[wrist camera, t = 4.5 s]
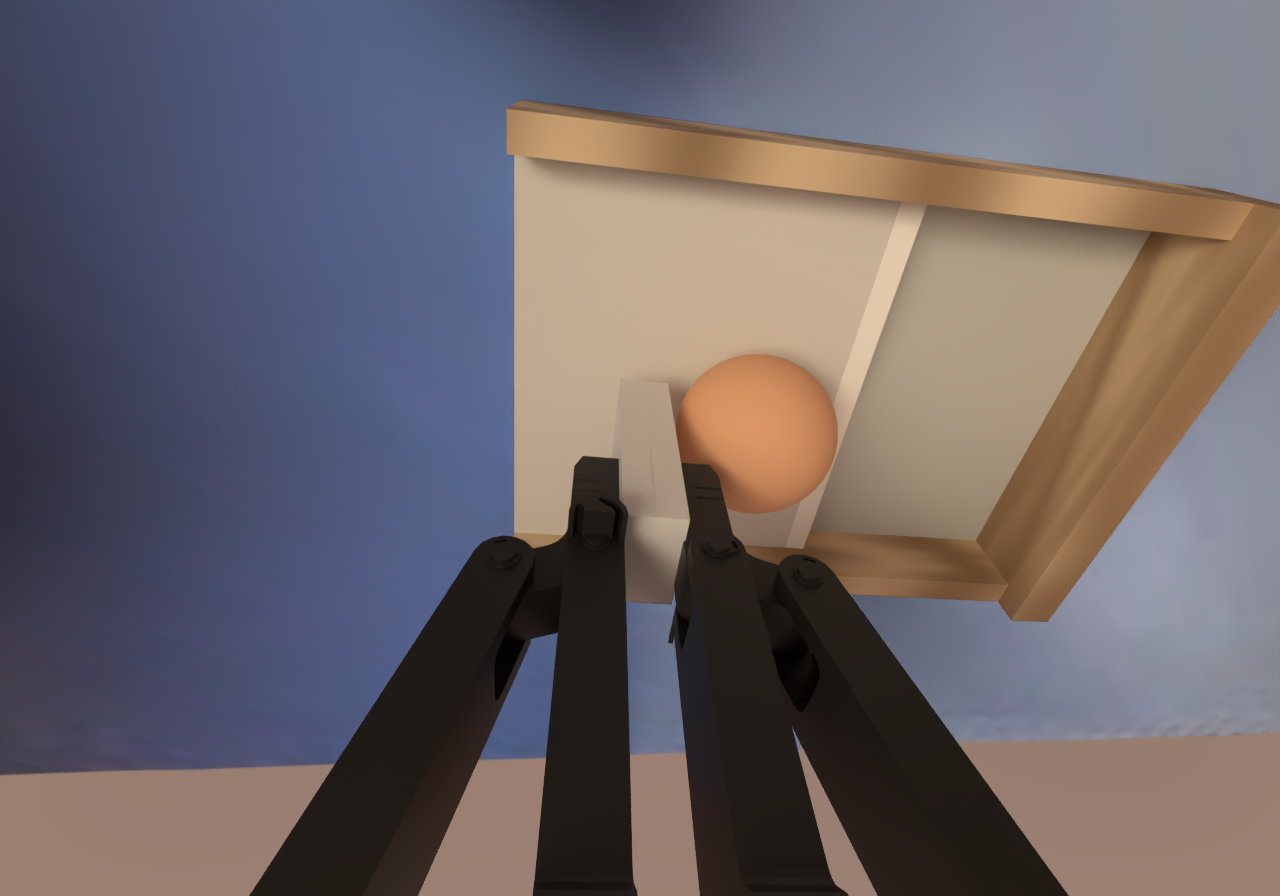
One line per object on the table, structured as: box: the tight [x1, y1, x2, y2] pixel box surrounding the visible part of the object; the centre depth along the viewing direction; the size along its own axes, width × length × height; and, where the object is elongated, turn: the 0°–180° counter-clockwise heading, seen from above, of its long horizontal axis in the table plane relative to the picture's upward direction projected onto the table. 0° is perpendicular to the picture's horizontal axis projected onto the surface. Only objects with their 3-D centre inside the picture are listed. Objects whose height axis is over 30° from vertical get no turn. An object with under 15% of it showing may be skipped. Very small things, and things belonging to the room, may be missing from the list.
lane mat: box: [514, 155, 1151, 549], centre depth 22 cm, size 20×14×2 cm
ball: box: [675, 354, 838, 514], centre depth 19 cm, size 5×5×5 cm
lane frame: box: [506, 100, 1280, 622], centre depth 21 cm, size 22×16×4 cm
